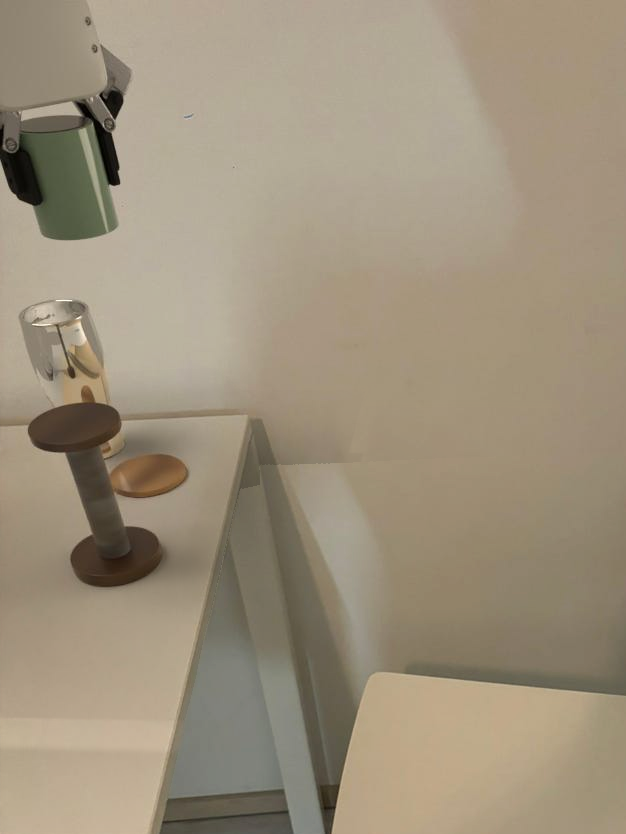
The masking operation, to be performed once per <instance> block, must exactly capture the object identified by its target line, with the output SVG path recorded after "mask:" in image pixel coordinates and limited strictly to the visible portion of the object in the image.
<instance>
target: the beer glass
mask: <svg viewBox="0 0 626 834" xmlns="http://www.w3.org/2000/svg"><path fill="white" fill-rule="evenodd" d="M18 320H19V324H20V327H21V332H22V337H23V340H24V344H25V347H26V351H27V354H28V357H29V360H30V363H31V366H32V369H33V371H34V374H35V375H36V378H37V379H38V381H39V385H40V386H41V388H42V389H43V391H44V393H45V395H46V396H47V398H48V400H49V403H50V404H51V405H52V409H53V408H56V407H59V406H63V405H68V404H73V403H82V402H94V403H102V404H106V405H109V406H111V397H110V388H109V378H108V369H107V368H108V367H107V361H106V357H105V353H104V348H103V345H102V342H101V338H100V336H99V332H98V329H97V327H96V324H95V321H94V319H93V317H92V313H91V311H90V307H89V305H88V304H87V303H86V302H85V301H82V300H78V299H73V298H72V299H70V298H59V299H58V298H57V299H49V300H45V301H39V302H37V303H34V304H31V305H29V306H27V307H25V308H24V309H23V310H21V311H20V312H19V314H18ZM111 407H112V406H111ZM124 447H125V439H124V436H123V434H122V432H121V430H120V431H119V433H118V434H117V435H116V436H115V437H114V438H112V439H111V440H109V441H107V442H106V443H104V444H101V445H100V448H101V451H102V454H103V457H104V460H105V459H108V458H110V457H113V456H115V455H116V454H118V453H119V452H121V451H122V450H123V448H124Z"/></svg>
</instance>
